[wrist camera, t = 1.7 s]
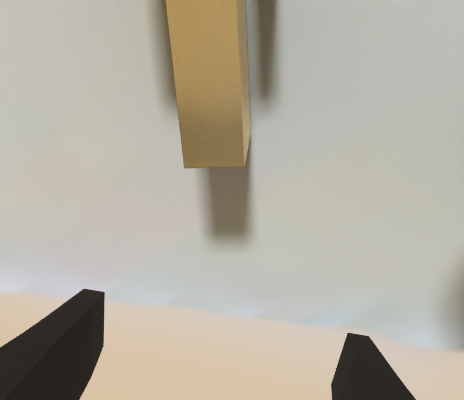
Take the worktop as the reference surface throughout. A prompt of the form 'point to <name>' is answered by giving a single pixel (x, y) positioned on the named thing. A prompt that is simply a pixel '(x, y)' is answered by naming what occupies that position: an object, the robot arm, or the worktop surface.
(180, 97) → the loose leaf
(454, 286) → the worktop surface
